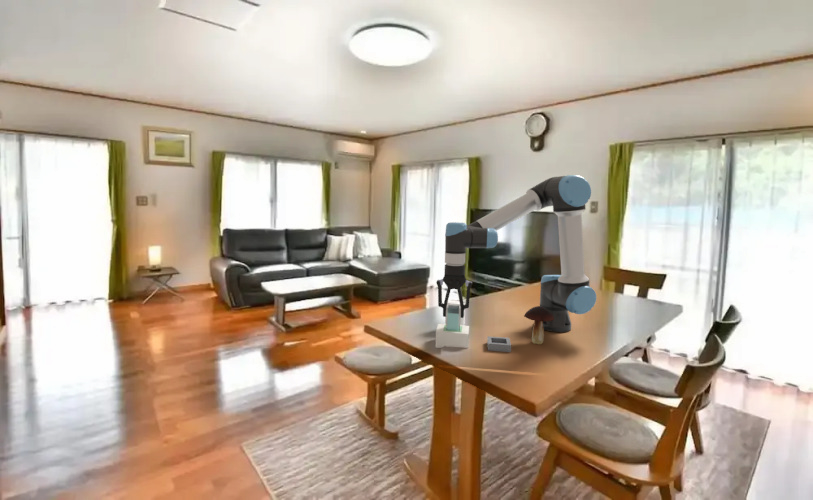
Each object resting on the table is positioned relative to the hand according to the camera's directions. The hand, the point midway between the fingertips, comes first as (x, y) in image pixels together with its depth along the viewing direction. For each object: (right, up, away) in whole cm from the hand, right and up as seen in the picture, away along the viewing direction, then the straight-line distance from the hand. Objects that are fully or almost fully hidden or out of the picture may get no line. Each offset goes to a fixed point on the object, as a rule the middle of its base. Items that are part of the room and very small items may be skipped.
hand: (453, 325), depth 151 cm
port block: (0, -7, +1) cm, 7 cm away
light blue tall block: (0, -5, 0) cm, 5 cm away
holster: (+16, -8, -4) cm, 19 cm away
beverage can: (+3, -5, +18) cm, 20 cm away
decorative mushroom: (+32, -8, +1) cm, 33 cm away
